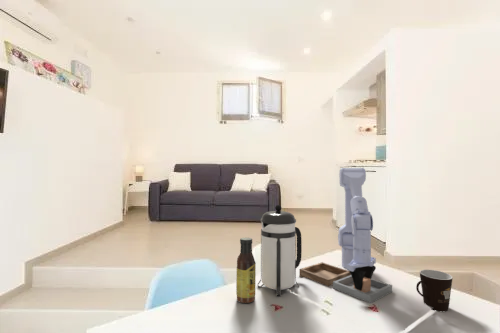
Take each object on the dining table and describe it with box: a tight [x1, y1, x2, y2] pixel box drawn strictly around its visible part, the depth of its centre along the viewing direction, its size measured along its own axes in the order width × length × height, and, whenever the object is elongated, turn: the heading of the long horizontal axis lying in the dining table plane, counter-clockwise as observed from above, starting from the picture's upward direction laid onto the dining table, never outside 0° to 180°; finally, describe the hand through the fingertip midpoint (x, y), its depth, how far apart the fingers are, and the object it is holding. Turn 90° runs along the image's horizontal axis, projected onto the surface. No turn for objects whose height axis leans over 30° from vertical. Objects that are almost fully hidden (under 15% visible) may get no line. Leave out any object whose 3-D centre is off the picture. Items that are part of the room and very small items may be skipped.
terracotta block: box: [354, 277, 371, 293], centre depth 98 cm, size 4×4×4 cm
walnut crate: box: [299, 261, 351, 287], centre depth 110 cm, size 14×14×3 cm
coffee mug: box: [416, 269, 453, 312], centre depth 88 cm, size 12×9×10 cm
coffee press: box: [257, 204, 303, 297], centre depth 102 cm, size 17×16×30 cm
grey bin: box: [332, 275, 393, 304], centre depth 98 cm, size 14×14×3 cm
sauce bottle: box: [235, 237, 257, 304], centre depth 92 cm, size 7×6×20 cm
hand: (362, 287), depth 98 cm, fingers closed on terracotta block, 4 cm apart
